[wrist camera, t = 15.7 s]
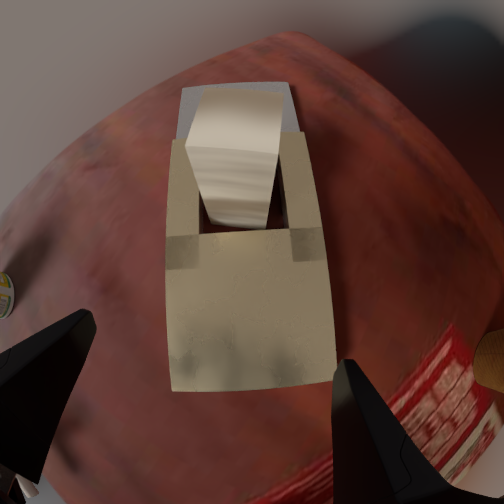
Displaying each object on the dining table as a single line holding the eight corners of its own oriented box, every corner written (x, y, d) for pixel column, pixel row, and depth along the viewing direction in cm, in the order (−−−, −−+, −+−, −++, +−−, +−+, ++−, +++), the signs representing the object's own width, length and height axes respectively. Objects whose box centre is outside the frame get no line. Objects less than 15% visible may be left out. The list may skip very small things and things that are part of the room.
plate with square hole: (328, 374, 20) (337, 379, 18) (179, 384, 20) (172, 390, 17) (286, 89, 28) (289, 74, 25) (184, 95, 27) (180, 80, 25)
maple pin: (265, 230, 23) (278, 154, 12) (211, 224, 23) (184, 145, 13) (270, 183, 24) (284, 93, 14) (220, 177, 24) (205, 87, 14)
